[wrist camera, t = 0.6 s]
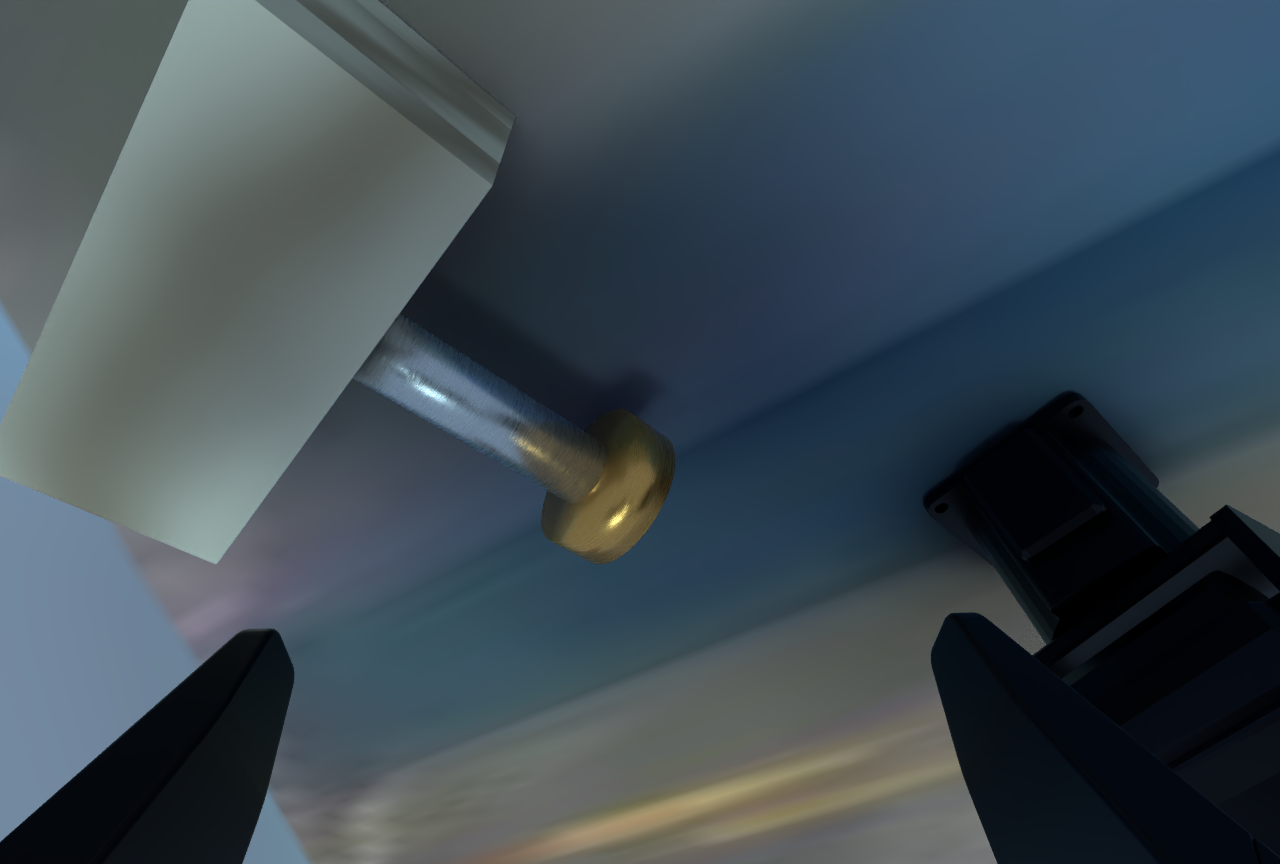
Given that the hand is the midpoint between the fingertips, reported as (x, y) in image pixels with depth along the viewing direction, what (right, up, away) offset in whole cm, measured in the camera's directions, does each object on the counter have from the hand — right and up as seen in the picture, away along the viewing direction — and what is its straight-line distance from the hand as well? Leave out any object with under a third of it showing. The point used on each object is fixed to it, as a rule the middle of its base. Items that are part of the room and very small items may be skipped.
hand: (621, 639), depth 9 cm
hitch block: (-9, +8, +9) cm, 15 cm away
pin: (-5, +5, +11) cm, 13 cm away
